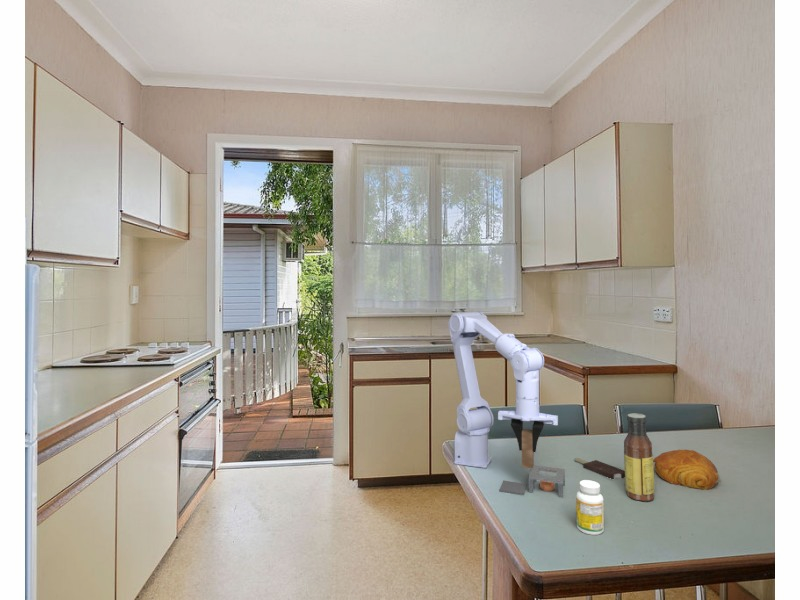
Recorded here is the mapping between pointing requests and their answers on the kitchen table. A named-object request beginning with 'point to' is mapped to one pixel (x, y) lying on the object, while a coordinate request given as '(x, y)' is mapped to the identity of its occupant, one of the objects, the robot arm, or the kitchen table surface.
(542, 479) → the guard frame
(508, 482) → the pad
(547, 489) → the button
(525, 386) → the robot arm
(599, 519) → the supplement bottle
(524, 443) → the stylus stick
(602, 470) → the ice cream bar
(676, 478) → the croissant
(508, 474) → the kitchen table surface
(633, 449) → the sauce bottle
